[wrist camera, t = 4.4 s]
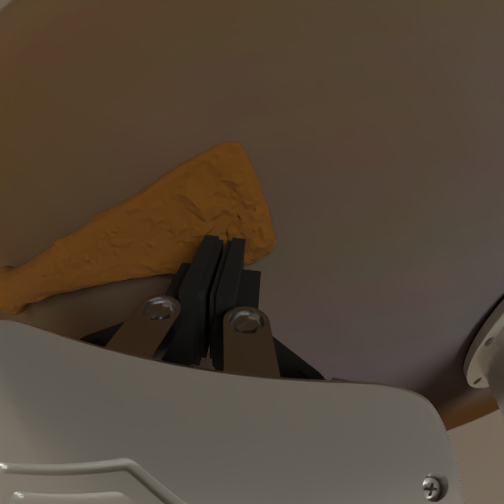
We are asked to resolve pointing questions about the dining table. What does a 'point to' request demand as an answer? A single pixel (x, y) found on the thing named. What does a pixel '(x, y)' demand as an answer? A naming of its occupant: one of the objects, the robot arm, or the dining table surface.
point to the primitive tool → (152, 230)
